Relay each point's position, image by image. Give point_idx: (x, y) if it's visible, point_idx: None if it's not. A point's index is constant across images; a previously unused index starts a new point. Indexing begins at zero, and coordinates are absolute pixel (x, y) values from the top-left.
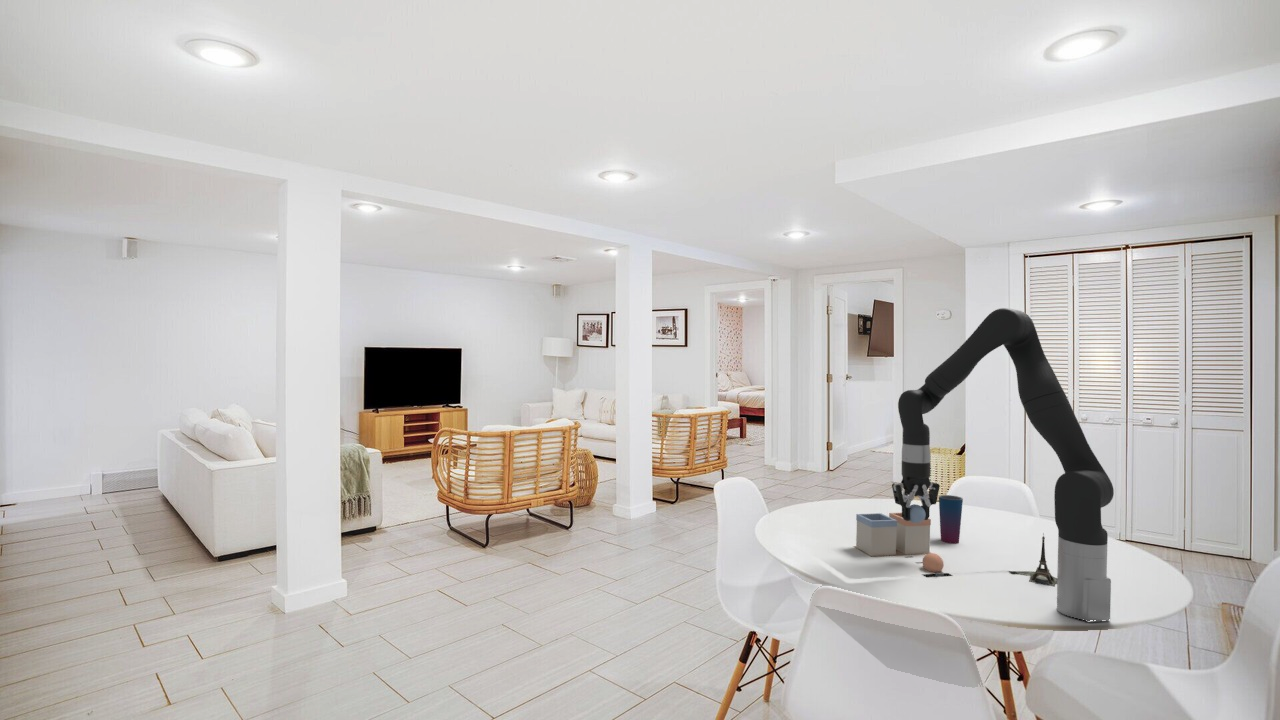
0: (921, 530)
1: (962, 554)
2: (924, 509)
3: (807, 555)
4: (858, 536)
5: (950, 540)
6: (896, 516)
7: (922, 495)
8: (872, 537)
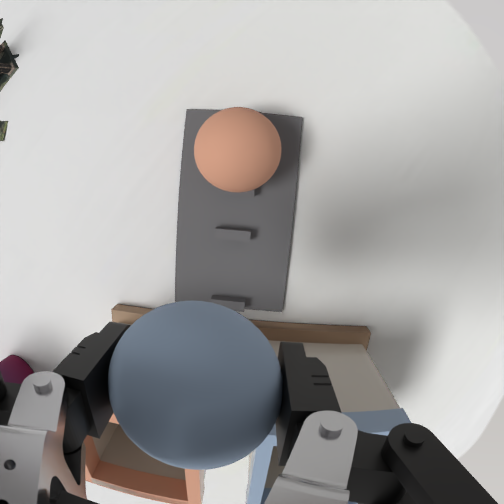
0: None
1: (21, 303)
2: (99, 384)
3: (476, 384)
4: None
5: (15, 370)
6: (199, 478)
7: (65, 499)
8: (380, 382)
